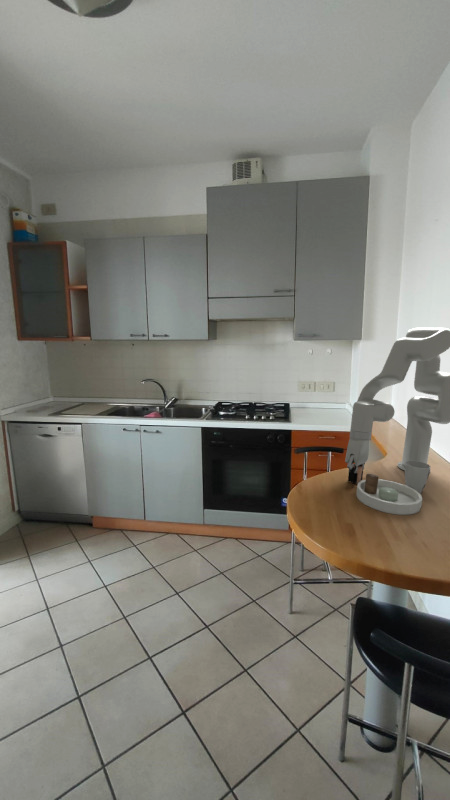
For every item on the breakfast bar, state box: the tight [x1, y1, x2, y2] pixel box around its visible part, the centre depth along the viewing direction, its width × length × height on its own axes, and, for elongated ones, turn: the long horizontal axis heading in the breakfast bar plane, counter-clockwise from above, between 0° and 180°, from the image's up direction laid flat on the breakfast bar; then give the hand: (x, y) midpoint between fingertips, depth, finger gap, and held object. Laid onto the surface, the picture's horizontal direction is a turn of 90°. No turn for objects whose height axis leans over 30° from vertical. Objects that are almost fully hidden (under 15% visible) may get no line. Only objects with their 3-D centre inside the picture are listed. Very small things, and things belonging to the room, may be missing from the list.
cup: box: [404, 461, 431, 494], centre depth 131 cm, size 8×8×10 cm
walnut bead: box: [364, 473, 380, 494], centre depth 126 cm, size 4×4×6 cm
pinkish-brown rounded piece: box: [351, 465, 362, 485], centre depth 137 cm, size 4×4×6 cm
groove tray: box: [355, 478, 423, 516], centre depth 122 cm, size 20×20×4 cm
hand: (355, 480), depth 138 cm, fingers closed on pinkish-brown rounded piece, 4 cm apart
